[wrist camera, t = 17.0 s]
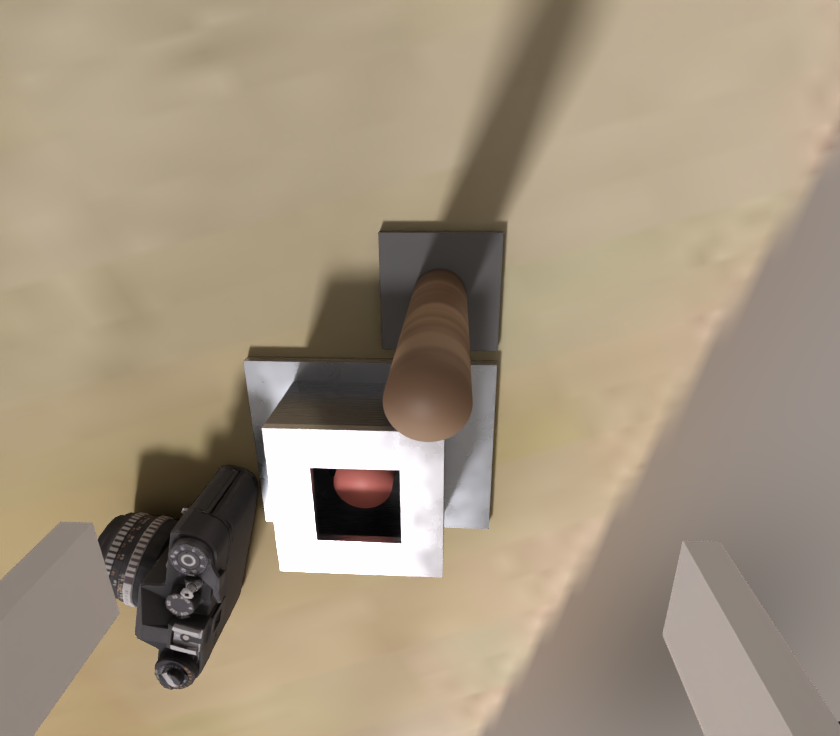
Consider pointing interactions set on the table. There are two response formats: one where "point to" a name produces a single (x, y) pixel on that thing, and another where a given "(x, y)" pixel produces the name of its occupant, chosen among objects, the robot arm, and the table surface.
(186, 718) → the table surface
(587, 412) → the table surface
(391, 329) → the rubber mat
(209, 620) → the camera
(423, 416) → the walnut dowel
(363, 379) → the box
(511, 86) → the table surface
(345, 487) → the breaker button
